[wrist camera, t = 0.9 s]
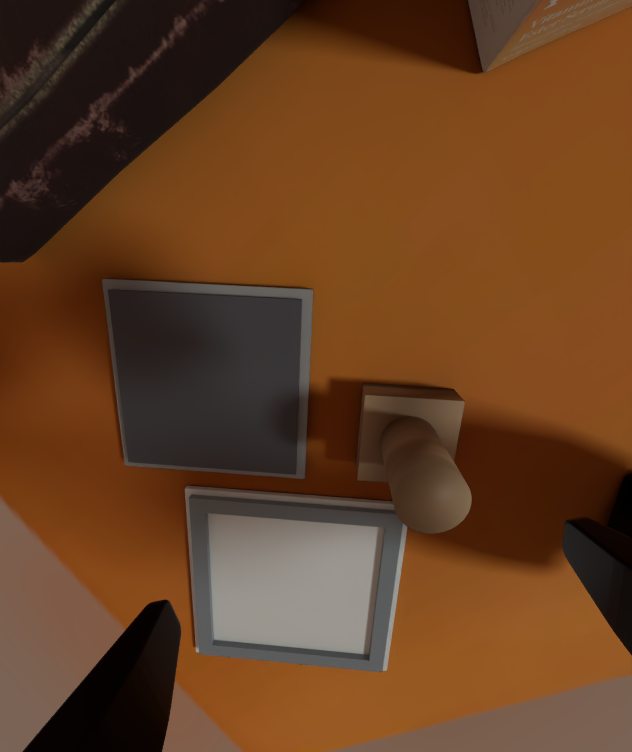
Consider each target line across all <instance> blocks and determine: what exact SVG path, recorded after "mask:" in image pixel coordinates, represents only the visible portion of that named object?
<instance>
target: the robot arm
mask: <svg viewBox="0 0 632 752" xmlns="http://www.w3.org/2000/svg"><path fill="white" fill-rule="evenodd" d="M563 551H564V554H565V556H566V558H567V560H568V562H569V563H570V565H571V566H572V568H573V569H574V571H575V573H576V574H577V576H578V577H579V579H580V580H581V582H582V583H583V585H584V587H585V588H586V590H587V591H588V593H589V594H590V596H591V597H592V599H593V601H594V602H595V604H596V605H597V607H598V608H599V610H600V611H601V613H602V614H603V616H604V618H605V619H606V621H607V622H608V624H609V625H610V627H611V628H612V629H613V631H614V632H615V634H616V635H617V636H618V638H619V639H620V641H621V642H622V643H623V645H624V646H625V647H626V649H627V650H628V651H629V652H630V654H631V655H632V473H631V474H628V475H627V476H625V477H624V479H623V481H622V484H621V487H620V490H619V493H618V496H617V499H616V502H615V505H614V508H613V511H612V514H611V517H610V520H609V523H608V526H605V525H603V524H601V523H598V522H596V521H594V520H592V519H590V518H587V517H579V518H574V519H569V520H567V521H566V522H565V524H564V536H563ZM180 639H181V626H180V622H179V620H178V618H177V616H176V614H175V611H174V609H173V607H172V605H171V603H170V602H169V601H168V600H160V601H155V602H151V603H149V604H148V605H147V606H146V607H145V608H144V609H143V610H142V611H141V613H140V614H139V615H138V616H137V617H136V618H135V620H134V621H133V622H132V623H131V624H130V625H129V627H128V628H127V629H126V630H125V631H124V633H123V634H122V635H121V636H120V637H119V638H118V640H117V641H116V642H115V643H114V644H113V646H112V647H111V648H110V649H109V650H108V651H107V653H106V654H105V655H104V656H103V657H102V658H101V660H100V661H99V662H98V663H97V664H96V666H95V667H94V668H93V669H92V670H91V672H90V673H89V674H88V675H87V676H86V677H85V679H84V680H83V681H82V682H81V683H80V685H79V686H78V687H77V688H76V689H75V690H74V692H73V693H72V694H71V695H70V696H69V697H68V699H67V700H66V701H65V702H64V703H63V705H62V706H61V707H60V708H59V709H58V710H57V712H56V713H55V714H54V715H53V716H52V717H51V719H50V720H49V721H48V722H47V723H46V725H45V726H44V727H43V728H42V729H41V730H40V732H39V733H38V734H37V735H36V736H35V737H34V739H33V740H32V741H31V742H30V743H29V745H28V746H27V747H26V748H25V749H24V750H23V752H162V749H163V745H164V740H165V736H166V731H167V726H168V721H169V716H170V710H171V703H172V696H173V689H174V682H175V674H176V667H177V660H178V653H179V646H180Z"/></svg>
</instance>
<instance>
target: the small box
mask: <svg viewBox="0 0 632 752" xmlns="http://www.w3.org/2000/svg"><path fill="white" fill-rule="evenodd" d="M468 3H469V8H470V12H471V17H472V22H473V27H474V32H475V37H476V41H477V46H478V51H479V56H480V61H481V65H482V70H483V71H484V72H488V71H490V70H492V69H494V68H496V67H498V66H500V65H502V64H504V63H506V62H508V61H510V60H512V59H514V58H516V57H518V56H520V55H522V54H525V53H527V52H529V51H531V50H533V49H536V48H538V47H540V46H542V45H544V44H546V43H549V42H551V41H553V40H555V39H558V38H560V37H562V36H565V35H567V34H569V33H572V32H574V31H576V30H579V29H581V28H583V27H586V26H588V25H590V24H592V23H595V22H597V21H599V20H602V19H604V18H606V17H609V16H611V15H613V14H615V13H618V12H620V11H622V10H624V9H627V8H629V7H631V6H632V0H468Z"/></svg>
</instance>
